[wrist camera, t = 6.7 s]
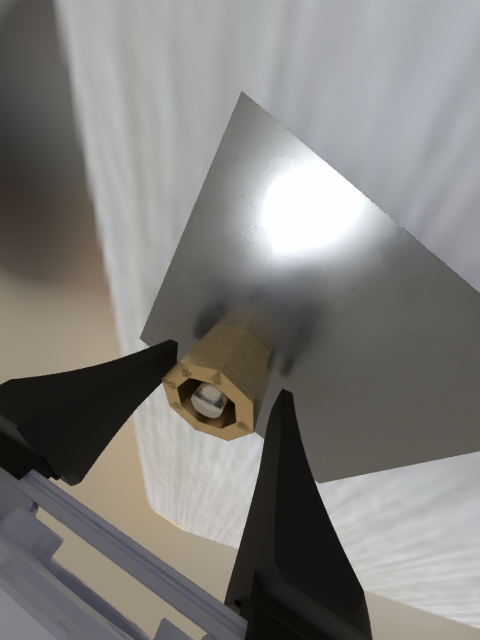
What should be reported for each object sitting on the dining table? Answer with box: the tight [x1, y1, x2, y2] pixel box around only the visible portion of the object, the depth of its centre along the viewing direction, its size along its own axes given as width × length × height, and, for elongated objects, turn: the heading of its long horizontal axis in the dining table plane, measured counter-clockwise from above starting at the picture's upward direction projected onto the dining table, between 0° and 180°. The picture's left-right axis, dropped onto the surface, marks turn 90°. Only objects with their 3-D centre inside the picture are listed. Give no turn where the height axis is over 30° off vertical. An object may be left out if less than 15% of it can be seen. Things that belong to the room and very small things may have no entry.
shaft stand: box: [140, 91, 480, 483], centre depth 10 cm, size 20×16×6 cm
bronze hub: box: [162, 325, 270, 441], centre depth 11 cm, size 5×5×4 cm
